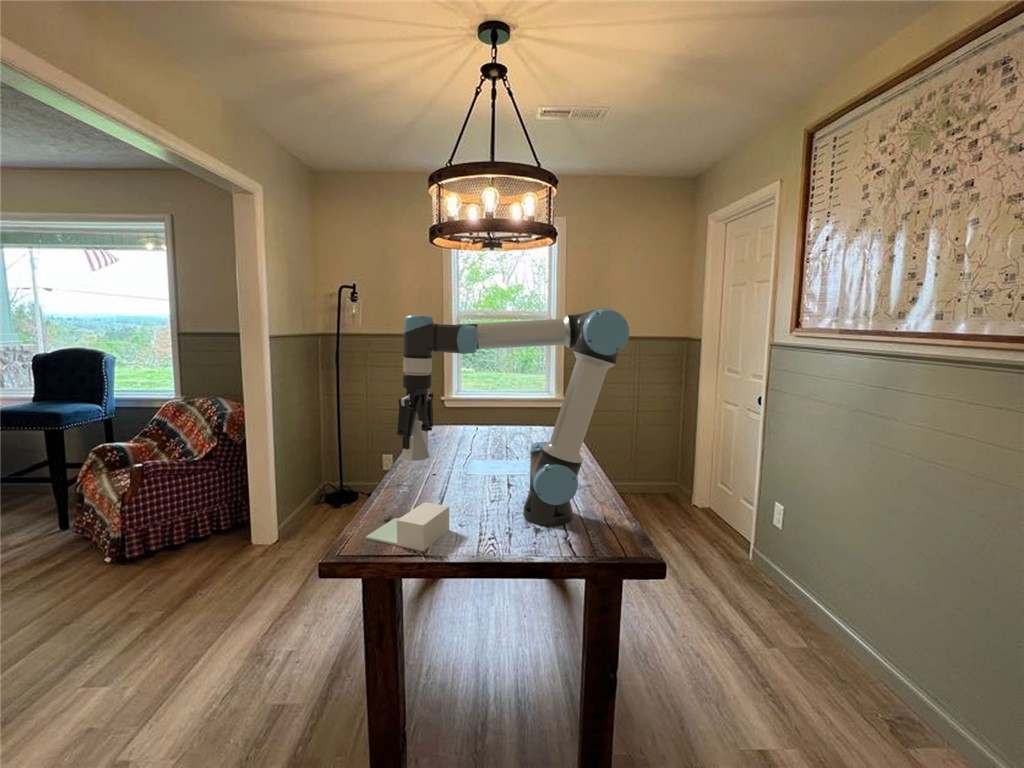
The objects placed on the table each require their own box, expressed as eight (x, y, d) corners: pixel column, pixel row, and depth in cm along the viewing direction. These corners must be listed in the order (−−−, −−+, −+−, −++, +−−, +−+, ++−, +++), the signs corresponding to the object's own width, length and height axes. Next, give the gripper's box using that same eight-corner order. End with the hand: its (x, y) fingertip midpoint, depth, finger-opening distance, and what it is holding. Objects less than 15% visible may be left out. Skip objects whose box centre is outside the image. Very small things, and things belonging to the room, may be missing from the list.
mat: (424, 525, 140) (424, 523, 140) (397, 545, 127) (396, 543, 127) (395, 519, 144) (395, 517, 144) (365, 538, 131) (365, 536, 131)
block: (449, 529, 137) (449, 506, 137) (423, 551, 124) (423, 525, 124) (424, 525, 140) (424, 502, 139) (397, 545, 127) (396, 520, 126)
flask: (417, 452, 137) (418, 418, 136) (434, 458, 133) (435, 422, 132) (396, 457, 132) (397, 421, 131) (413, 463, 127) (414, 426, 126)
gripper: (424, 369, 140) (422, 446, 143) (383, 375, 122) (381, 463, 125) (447, 371, 137) (445, 450, 140) (408, 378, 119) (406, 468, 122)
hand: (415, 456), depth 132 cm, fingers closed on flask, 7 cm apart
